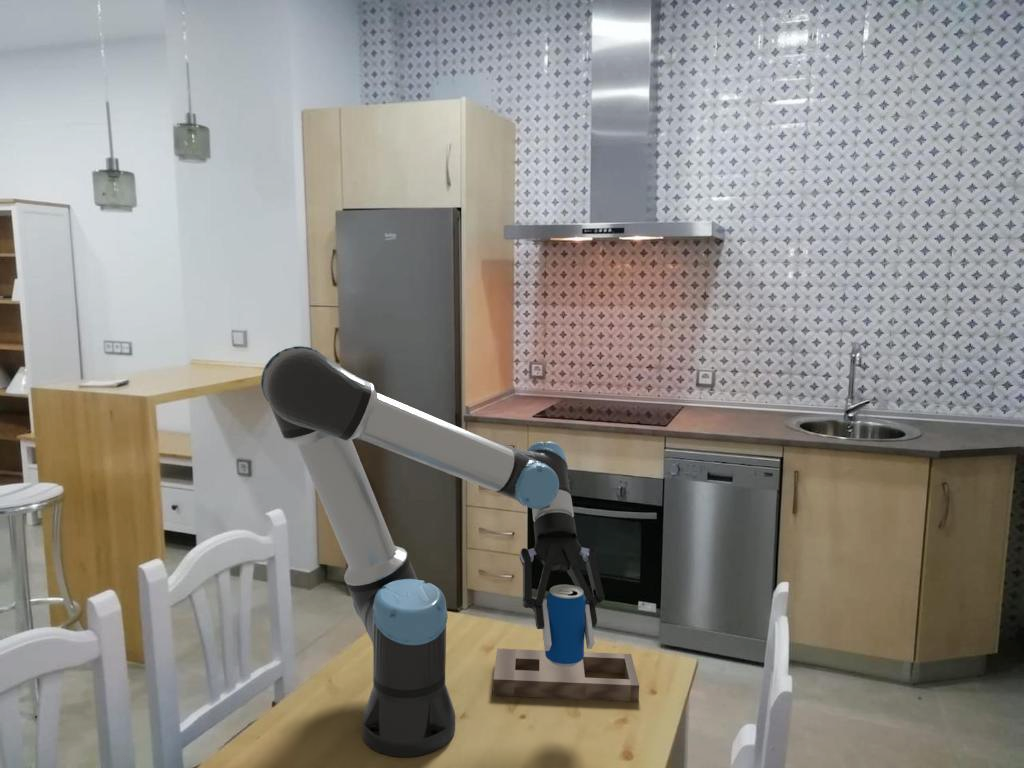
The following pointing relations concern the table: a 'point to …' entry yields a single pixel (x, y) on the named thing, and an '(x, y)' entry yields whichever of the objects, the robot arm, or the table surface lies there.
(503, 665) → the hole board
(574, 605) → the beverage can
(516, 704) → the table surface
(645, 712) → the table surface
